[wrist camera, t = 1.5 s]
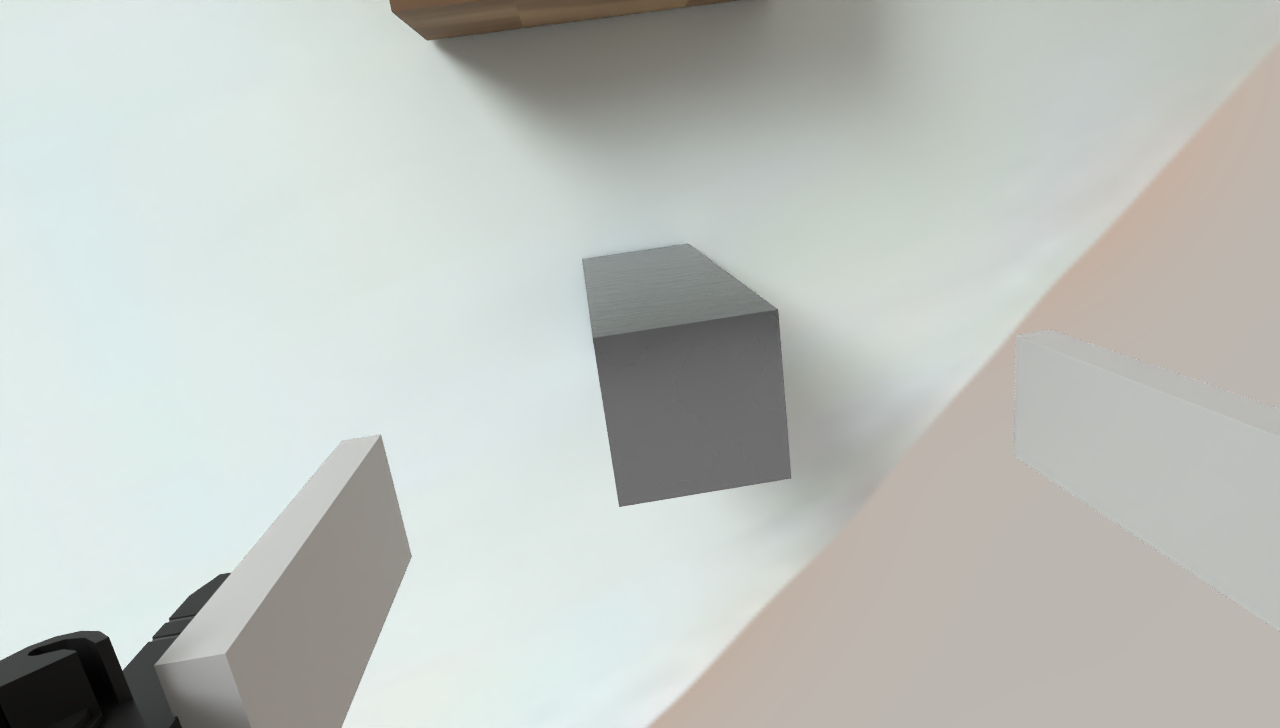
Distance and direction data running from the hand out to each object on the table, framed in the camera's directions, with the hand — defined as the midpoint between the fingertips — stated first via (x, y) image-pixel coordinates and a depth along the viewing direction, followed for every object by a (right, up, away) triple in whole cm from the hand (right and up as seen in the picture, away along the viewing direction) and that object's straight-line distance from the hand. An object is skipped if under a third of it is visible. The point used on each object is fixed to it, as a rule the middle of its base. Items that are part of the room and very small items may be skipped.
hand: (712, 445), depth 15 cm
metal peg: (-1, +4, +13) cm, 13 cm away
